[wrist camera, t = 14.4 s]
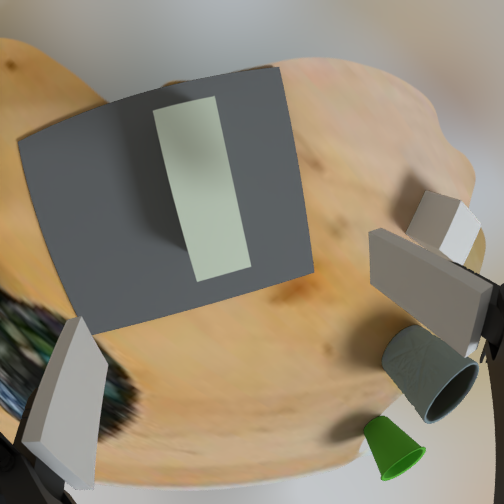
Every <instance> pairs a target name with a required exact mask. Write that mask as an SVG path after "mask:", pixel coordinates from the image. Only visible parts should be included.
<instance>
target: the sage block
mask: <svg viewBox="0 0 504 504" xmlns="http://www.w3.org/2000/svg"><path fill="white" fill-rule="evenodd" d="M153 114H154V119H155V123H156V128H157V132H158V137H159V141H160V145H161V150H162V154H163V158H164V162H165V167H166V171H167V175H168V179H169V183H170V187H171V191H172V194H173V198H174V202H175V206H176V210H177V213H178V217H179V221H180V224H181V228H182V232H183V235H184V239H185V242H186V246H187V249H188V253H189V256H190V260H191V263H192V266H193V270H194V273H195V276H196V280H197V282H199V281H202V280H206V279H209V278H213V277H216V276H220V275H224V274H227V273H231V272H234V271H238V270H241V269H245V268H248V267H251V262H250V258H249V253H248V249H247V244H246V239H245V235H244V230H243V226H242V221H241V216H240V212H239V207H238V202H237V198H236V193H235V189H234V184H233V179H232V175H231V170H230V165H229V161H228V156H227V151H226V147H225V142H224V137H223V133H222V128H221V123H220V118H219V114H218V109H217V104H216V100H215V96H212V97H207V98H203V99H198V100H193V101H189V102H185V103H180V104H176V105H172V106H168V107H164V108H161V109H157V110H153Z"/></svg>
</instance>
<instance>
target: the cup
mask: <svg viewBox="0 0 504 504" xmlns="http://www.w3.org/2000/svg"><path fill="white" fill-rule="evenodd" d="M364 435H365V437H366V439H367V442H368V444H369V447H370V449H371V451H372V454H373V456H374V459H375V461H376V463H377V466H378V468H379V471H380V473H381V480H383V481H387V480H390V479H393V478H395V477H397V476H399V475H401V474H402V473H404V472H405V471H407V470H408V469H409V468H411V467H412V466H413V465H415V464H416V463H417V462H418V461H419V460H420V459H421V457H422V456H423V455H424V453H425V451H426V448H425V447H421V446H420V445H419V444H417V443H416V442H415V441H414V440H413V439H412V438H410V437H409V436H408V435H407V434H406V433H405V432H404V431H402V430H401V429H400V428H399V427H398V426H397V425H396V424H394V423H393V422H392V421H391V420H390V419H389V418H388V417H385V416H379V417H377V418H375V419H373V420H372V421H370V422H369V423H368V424H367V425H366V427H365V428H364Z"/></svg>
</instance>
